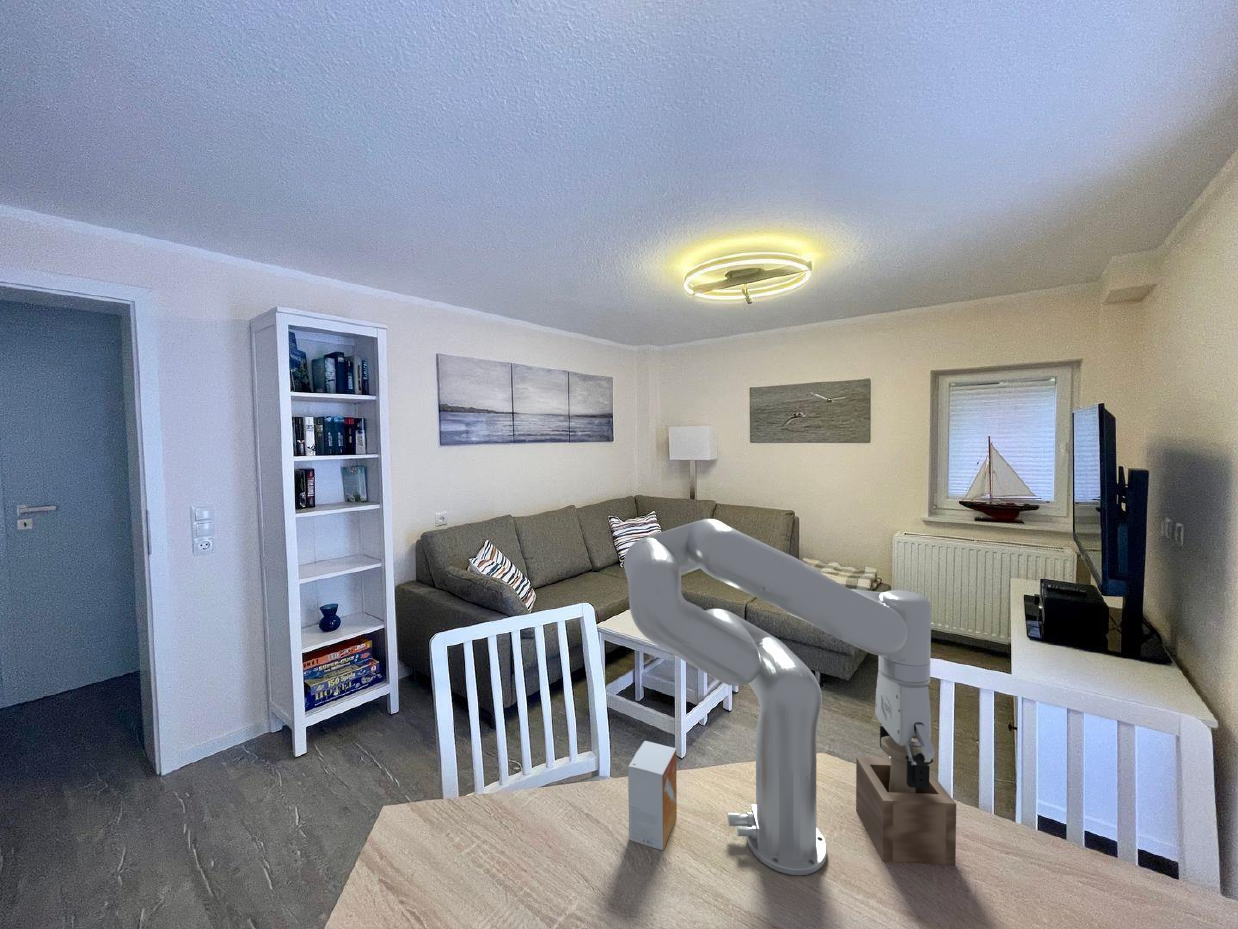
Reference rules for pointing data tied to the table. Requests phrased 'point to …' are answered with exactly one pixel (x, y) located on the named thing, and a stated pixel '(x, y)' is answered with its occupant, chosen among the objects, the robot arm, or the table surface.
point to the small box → (652, 794)
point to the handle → (898, 764)
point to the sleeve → (905, 816)
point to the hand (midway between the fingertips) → (902, 766)
